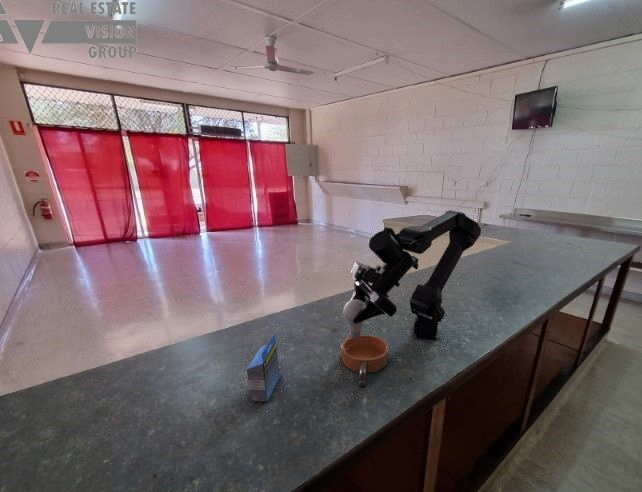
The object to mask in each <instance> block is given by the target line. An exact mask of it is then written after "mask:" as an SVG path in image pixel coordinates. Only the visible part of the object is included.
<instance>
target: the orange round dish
mask: <svg viewBox="0 0 642 492" xmlns="http://www.w3.org/2000/svg"><path fill="white" fill-rule="evenodd" d="M389 348H390V346H389V343H388V342H387V341H386V340H384V339H383V338H381V337H379V336H376V335H372V334H360V337H359V338H358V339H353V338H351V336H350V337H348V338H347V339H345V340H344V341H343V342H342V344H341V361H342V364H343V365H345V366H346V368H347V369H349V370H351V371H354V372H357V373H359V372H360V364H361V362H363V361H365V362H367V364H368V368H367V374H369V373H374V372H377V371H380V370H382V369H383V368H384V367H385V366H386V365H387V364H388V361H389V353H390V351H389V350H390V349H389Z"/></svg>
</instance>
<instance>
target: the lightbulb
mask: <svg viewBox="0 0 642 492" xmlns="http://www.w3.org/2000/svg"><path fill="white" fill-rule="evenodd" d="M364 305H365V303H364V302H362V301H360V300H357V299H354V300H351V299H350V300H349V301H348V302H346V303H345V305H344V307H343V310H342V311H343V312H342V313H343V317H344V319H345V320H346V321H347V324H348V328H349V329H348V330H349V332H350V337H351V338H353V339H358V338H359V337H360V335H361V331H362V329H363V328H362V327H363V324H364V321H362V322H359V323H357V324H355V323H353V319H354V318H355V316H356V315H357V314H358V313H359V311H360V310H361V309H362V307H363V306H364Z"/></svg>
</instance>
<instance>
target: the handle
mask: <svg viewBox="0 0 642 492" xmlns="http://www.w3.org/2000/svg"><path fill="white" fill-rule="evenodd" d="M367 368H368V364H367V362H365V361H363V362H361V364H360V372H358V381H357V382H358V383H357V385H358V387H359V389H365V388H366V387H367V382H368V373H367Z"/></svg>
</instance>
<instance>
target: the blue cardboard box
mask: <svg viewBox="0 0 642 492" xmlns="http://www.w3.org/2000/svg"><path fill="white" fill-rule="evenodd" d="M246 374H247V382H248V389H249V398H250V402H254V403H255V402H257V403H258V402H259V403H267V402H269V400H270V397H271V395H272V393H273V391H274V389H275V387H276V386H277V384H278V381H279V378H280V368H279V357H278V350H277V333H276V332H274V334H273V335H272V337H271V339H270V340H269V341H268V343H267V344H264V345H262V346H261V347H260V348H259V349H258V351H257V353H256V355H255V356H254V357H253V360H252V361H251V362H250V364H249V365H248V367H247V368H246Z"/></svg>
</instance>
